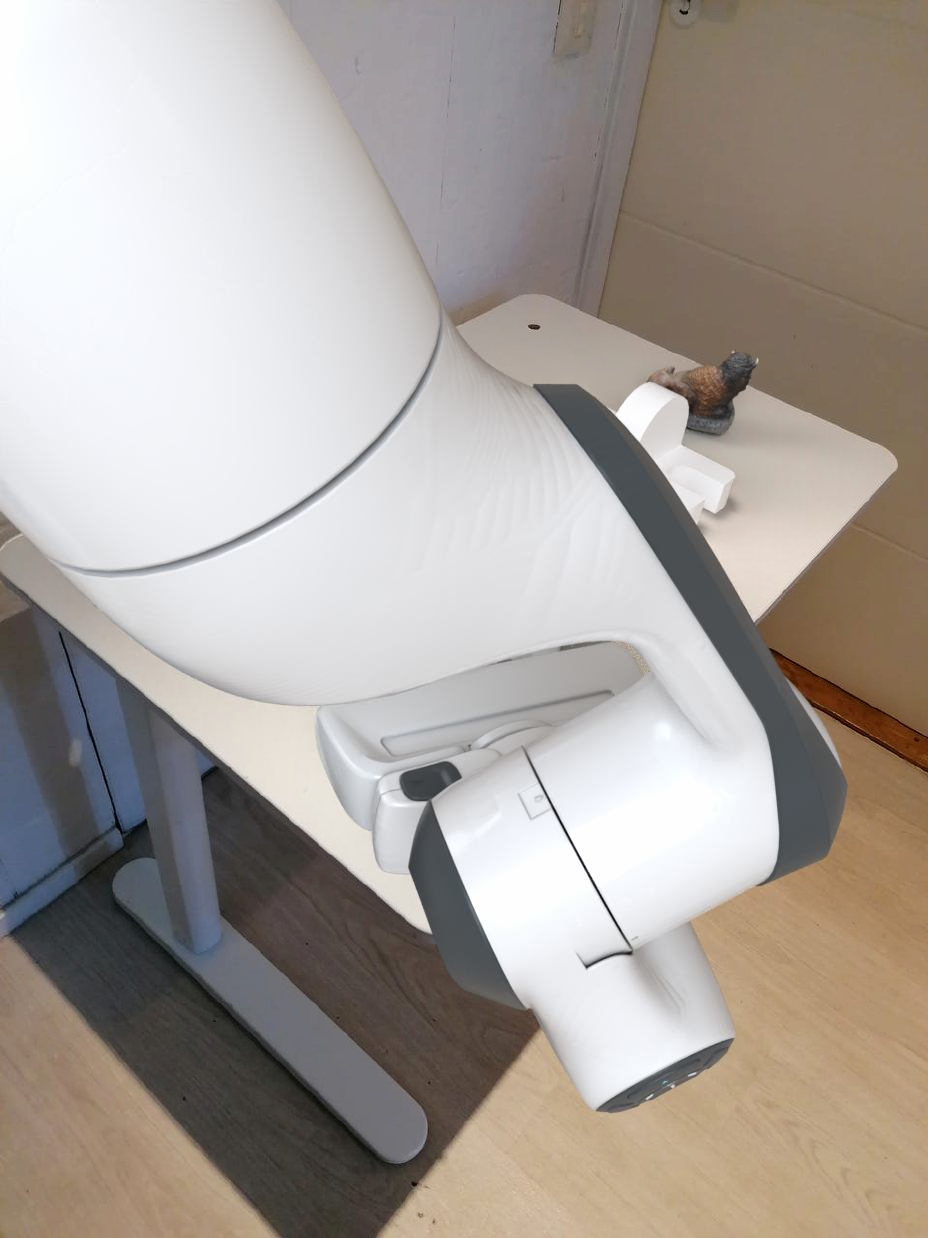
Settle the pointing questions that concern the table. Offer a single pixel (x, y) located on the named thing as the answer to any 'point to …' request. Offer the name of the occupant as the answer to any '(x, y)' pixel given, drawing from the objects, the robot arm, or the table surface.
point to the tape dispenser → (675, 448)
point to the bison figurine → (709, 390)
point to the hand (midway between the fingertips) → (447, 633)
